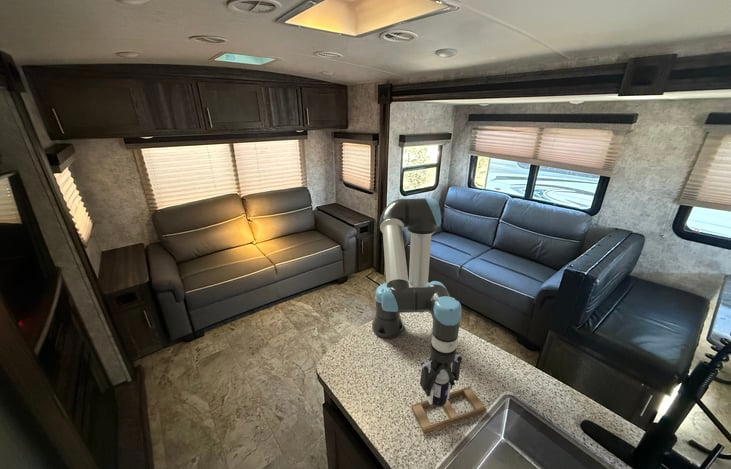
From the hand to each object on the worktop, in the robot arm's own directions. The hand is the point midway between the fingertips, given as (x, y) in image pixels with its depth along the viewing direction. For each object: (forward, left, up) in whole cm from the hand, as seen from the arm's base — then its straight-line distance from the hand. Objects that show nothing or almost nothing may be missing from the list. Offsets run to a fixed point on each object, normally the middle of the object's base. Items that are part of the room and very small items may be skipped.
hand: (437, 398), depth 95 cm
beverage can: (0, 0, -1) cm, 1 cm away
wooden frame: (0, +5, -9) cm, 10 cm away
